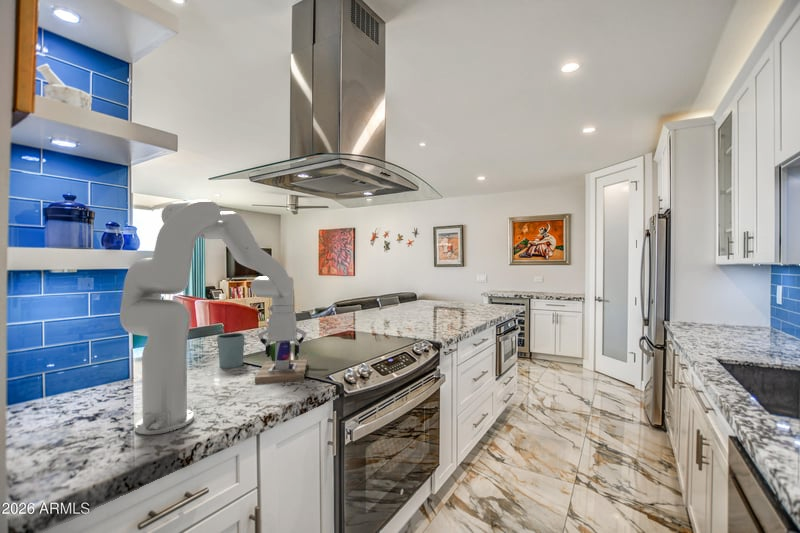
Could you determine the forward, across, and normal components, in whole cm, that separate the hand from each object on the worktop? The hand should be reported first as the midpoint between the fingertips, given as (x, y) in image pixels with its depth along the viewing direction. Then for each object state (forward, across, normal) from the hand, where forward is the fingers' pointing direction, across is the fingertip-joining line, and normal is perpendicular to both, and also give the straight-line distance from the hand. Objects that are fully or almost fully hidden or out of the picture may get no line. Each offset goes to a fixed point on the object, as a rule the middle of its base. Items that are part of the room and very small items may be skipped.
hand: (282, 355), depth 133 cm
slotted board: (+6, 0, 0) cm, 7 cm away
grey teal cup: (+7, -22, +15) cm, 27 cm away
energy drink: (+7, 0, 0) cm, 7 cm away
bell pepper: (+7, -3, +15) cm, 17 cm away
